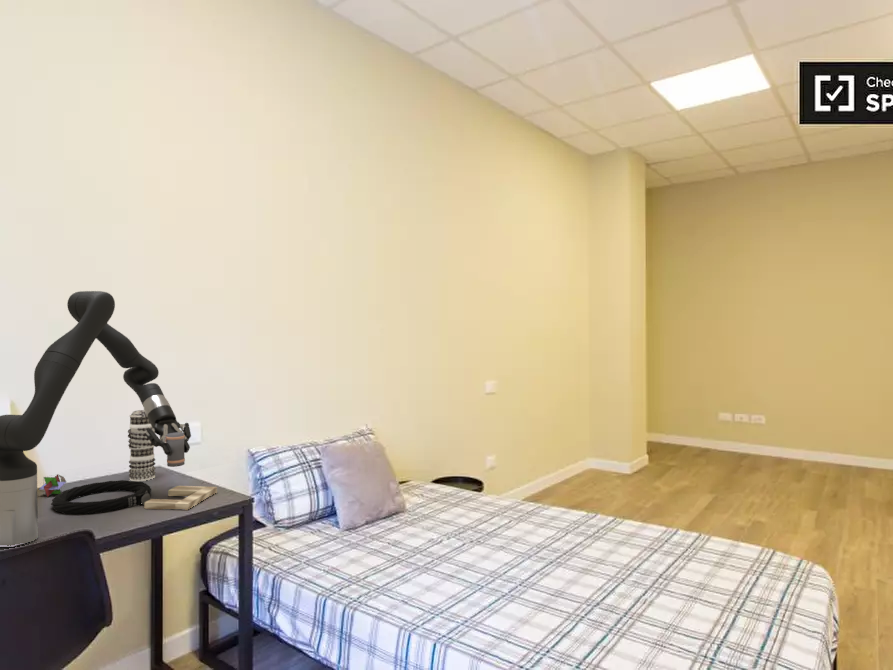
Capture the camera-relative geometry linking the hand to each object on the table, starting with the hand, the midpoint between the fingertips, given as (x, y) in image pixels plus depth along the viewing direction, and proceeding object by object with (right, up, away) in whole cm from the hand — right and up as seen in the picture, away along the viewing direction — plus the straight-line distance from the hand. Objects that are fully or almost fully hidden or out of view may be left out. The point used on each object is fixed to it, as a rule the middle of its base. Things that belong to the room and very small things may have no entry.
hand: (178, 452), depth 181 cm
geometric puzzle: (-46, -16, +8) cm, 49 cm away
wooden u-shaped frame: (0, -16, +2) cm, 16 cm away
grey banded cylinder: (-2, -4, +1) cm, 5 cm away
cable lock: (-24, -17, +2) cm, 29 cm away
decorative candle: (-27, -16, +28) cm, 41 cm away
